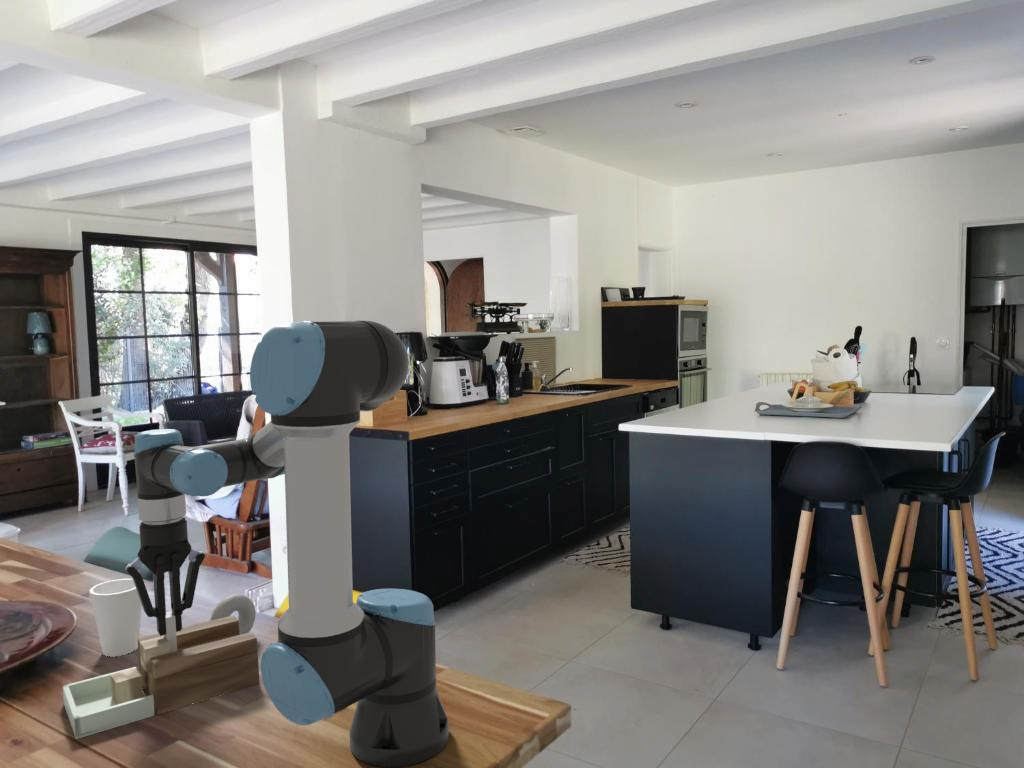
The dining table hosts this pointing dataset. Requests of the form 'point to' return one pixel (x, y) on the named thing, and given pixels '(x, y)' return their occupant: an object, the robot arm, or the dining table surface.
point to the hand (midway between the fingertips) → (170, 650)
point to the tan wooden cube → (126, 686)
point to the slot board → (201, 665)
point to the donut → (236, 604)
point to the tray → (101, 706)
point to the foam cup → (117, 615)
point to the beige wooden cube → (153, 650)
